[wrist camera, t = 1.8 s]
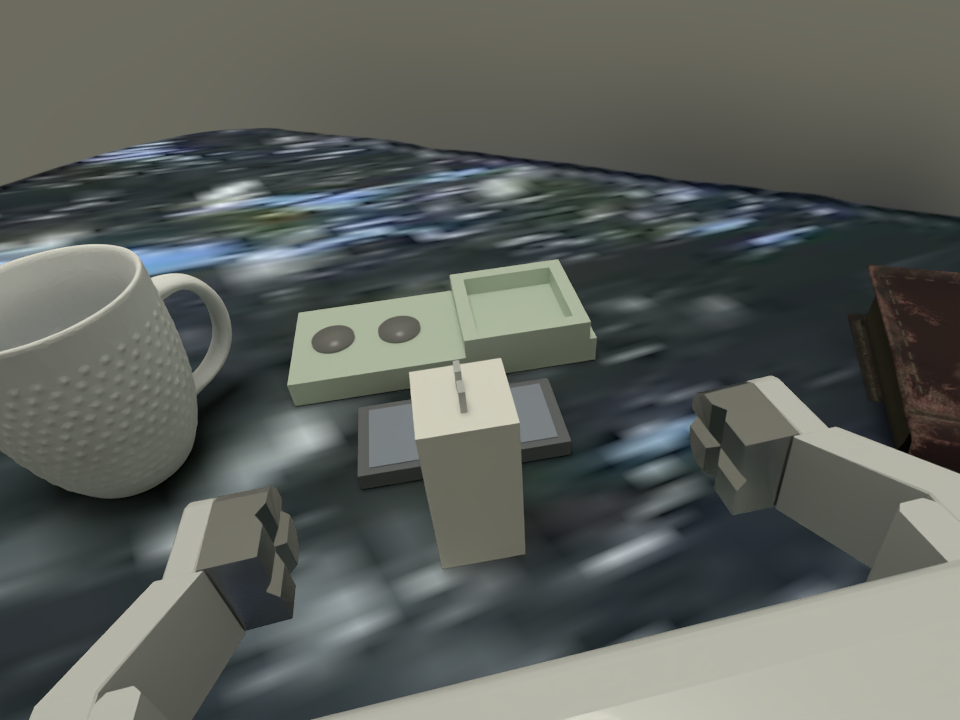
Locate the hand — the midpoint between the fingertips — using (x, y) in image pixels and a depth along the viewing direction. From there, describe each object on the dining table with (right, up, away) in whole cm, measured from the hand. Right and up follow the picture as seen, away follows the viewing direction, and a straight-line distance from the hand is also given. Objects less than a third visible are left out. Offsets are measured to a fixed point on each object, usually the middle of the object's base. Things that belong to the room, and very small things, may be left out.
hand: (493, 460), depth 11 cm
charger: (0, -7, +22) cm, 23 cm away
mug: (-22, -4, +28) cm, 36 cm away
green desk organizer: (-3, +3, +35) cm, 35 cm away
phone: (-1, -3, +27) cm, 27 cm away
